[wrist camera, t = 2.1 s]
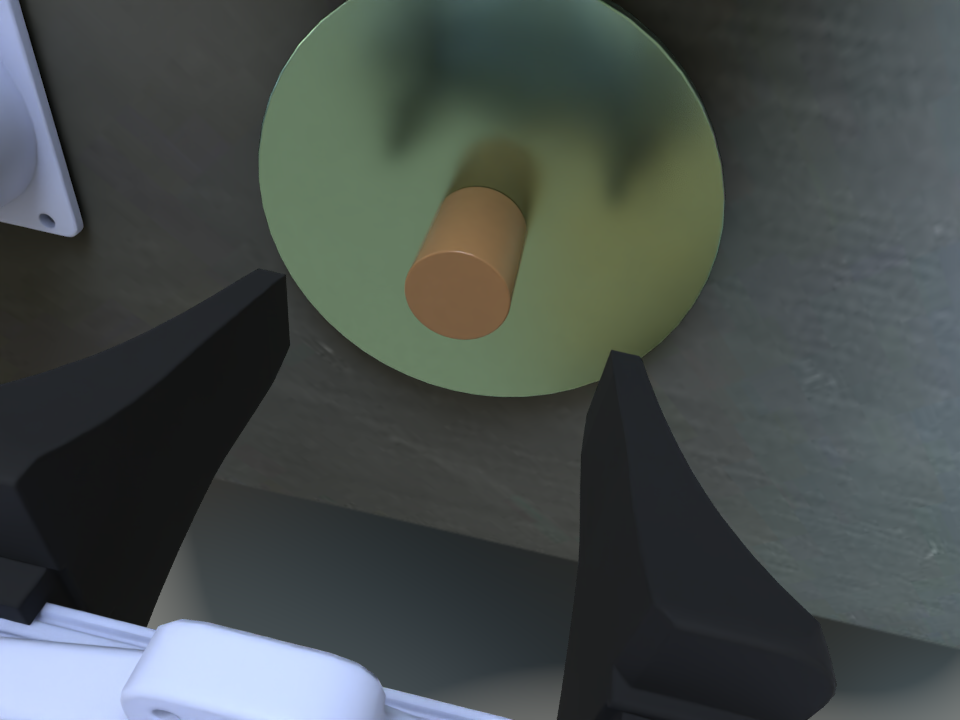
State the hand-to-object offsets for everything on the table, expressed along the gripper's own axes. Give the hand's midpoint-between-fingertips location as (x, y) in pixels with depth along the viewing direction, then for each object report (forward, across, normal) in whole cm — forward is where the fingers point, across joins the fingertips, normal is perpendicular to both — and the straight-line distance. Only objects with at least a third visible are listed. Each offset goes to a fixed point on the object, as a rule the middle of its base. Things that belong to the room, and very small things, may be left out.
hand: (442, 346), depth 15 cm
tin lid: (+6, 0, 0) cm, 6 cm away
